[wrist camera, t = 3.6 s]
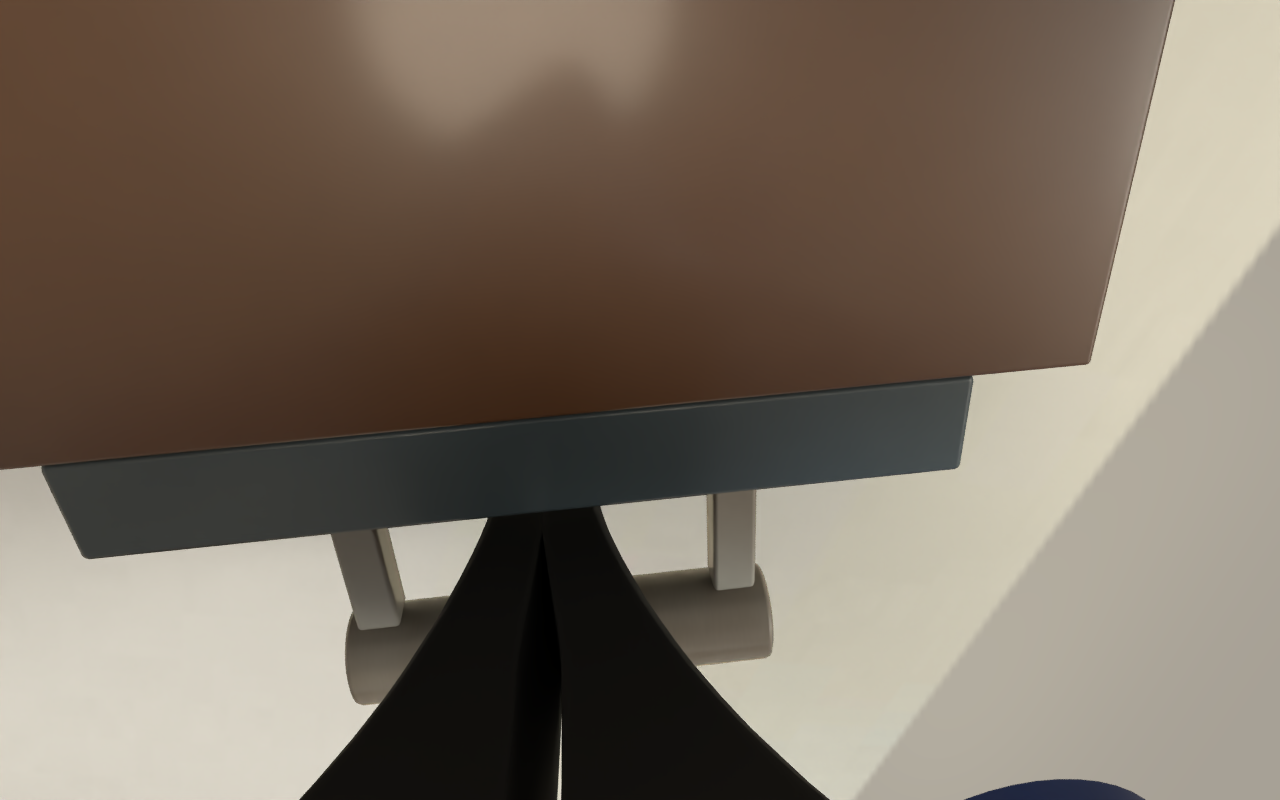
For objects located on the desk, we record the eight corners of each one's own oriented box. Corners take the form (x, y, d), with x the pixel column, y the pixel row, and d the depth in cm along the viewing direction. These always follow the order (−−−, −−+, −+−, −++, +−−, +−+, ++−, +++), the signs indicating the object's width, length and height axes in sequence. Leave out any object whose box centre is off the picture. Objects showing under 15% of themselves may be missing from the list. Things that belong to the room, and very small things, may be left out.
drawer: (810, 502, 16) (918, 733, 12) (305, 555, 16) (206, 822, 11) (886, -799, 8) (1310, -1681, 4) (-122, -798, 8) (-1080, -1847, 3)
